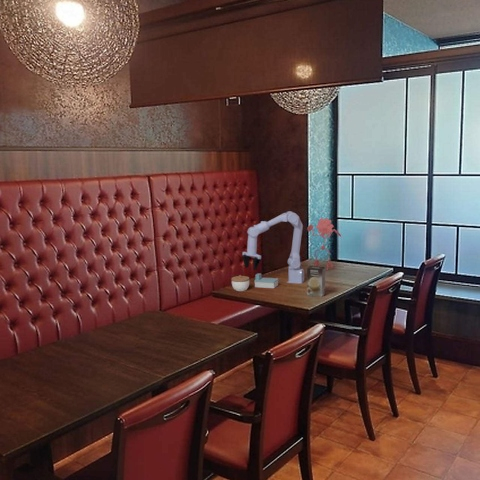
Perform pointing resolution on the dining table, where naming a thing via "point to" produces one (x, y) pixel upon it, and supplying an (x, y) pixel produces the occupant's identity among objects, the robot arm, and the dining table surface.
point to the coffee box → (315, 281)
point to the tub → (266, 284)
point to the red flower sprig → (324, 228)
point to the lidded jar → (240, 283)
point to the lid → (264, 279)
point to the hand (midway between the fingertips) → (250, 268)
